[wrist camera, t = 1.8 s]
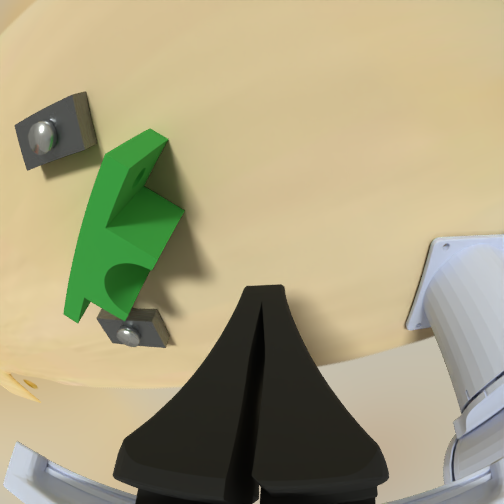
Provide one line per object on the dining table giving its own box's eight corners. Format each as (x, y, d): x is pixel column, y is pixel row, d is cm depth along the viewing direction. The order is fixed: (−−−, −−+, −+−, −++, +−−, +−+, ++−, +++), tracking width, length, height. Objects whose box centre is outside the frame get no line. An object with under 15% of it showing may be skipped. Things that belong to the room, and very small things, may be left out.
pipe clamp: (137, 294, 19) (113, 345, 16) (93, 268, 18) (62, 314, 14) (214, 164, 13) (189, 207, 10) (151, 126, 12) (103, 154, 9)
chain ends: (85, 91, 11) (65, 96, 10) (169, 335, 21) (163, 353, 20) (27, 119, 12) (7, 128, 10) (117, 332, 22) (110, 348, 20)
